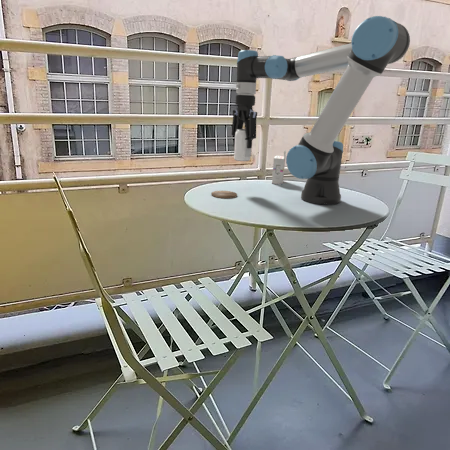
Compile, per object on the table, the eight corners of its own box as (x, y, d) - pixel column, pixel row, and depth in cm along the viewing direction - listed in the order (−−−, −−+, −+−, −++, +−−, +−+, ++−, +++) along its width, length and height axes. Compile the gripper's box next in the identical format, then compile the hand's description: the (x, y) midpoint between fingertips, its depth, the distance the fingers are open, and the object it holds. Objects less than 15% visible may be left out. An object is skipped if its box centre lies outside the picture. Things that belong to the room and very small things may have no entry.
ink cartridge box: (272, 180, 186) (275, 148, 181) (283, 181, 185) (286, 149, 180) (271, 183, 178) (274, 151, 173) (282, 184, 177) (285, 151, 172)
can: (240, 158, 162) (242, 128, 158) (253, 160, 158) (255, 129, 154) (230, 159, 157) (232, 129, 153) (243, 161, 153) (245, 130, 150)
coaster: (241, 197, 152) (242, 195, 152) (219, 199, 147) (219, 197, 147) (228, 191, 160) (228, 189, 160) (206, 193, 155) (206, 191, 155)
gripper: (224, 93, 156) (221, 152, 163) (252, 94, 140) (248, 159, 147) (239, 94, 160) (237, 151, 167) (268, 95, 144) (264, 158, 151)
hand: (242, 155), depth 157 cm, fingers closed on can, 6 cm apart
